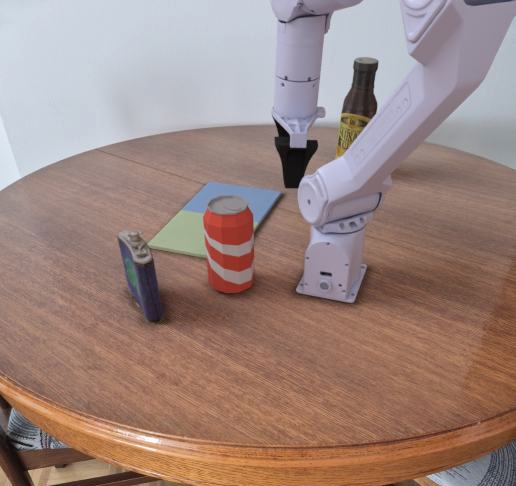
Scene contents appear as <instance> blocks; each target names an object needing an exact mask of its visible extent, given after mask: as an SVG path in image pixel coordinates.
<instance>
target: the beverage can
mask: <svg viewBox="0 0 516 486" xmlns="http://www.w3.org/2000/svg"><path fill="white" fill-rule="evenodd" d="M203 224H204V235H205V246H206V257H207V258H206V268H207V278H208V282H209V284H210V286H211V287H212V289H213V290H216V291H219V292H222V293H224V294H239V293H241V292H243V291H245V290H247V289H249V288H251V287H252V286H253V284H254V281H255V279H256V276H255V274H256V273H255V271H256V270H255V232H254V223H253V213H252V212H251V210H250V209H249V207H248V202H247V201H246V200H245V198H243V197H239V196H236V195H220V196H218V197H215V198H212V199H210V200H209V202H208V203H207V210H206V212H205V214H204V216H203Z"/></svg>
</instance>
